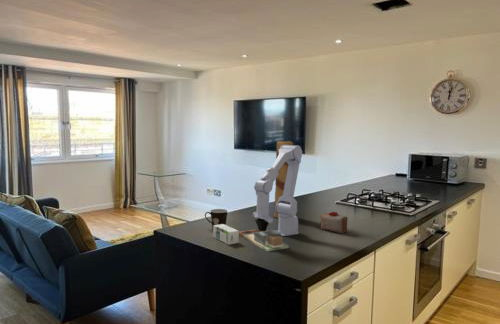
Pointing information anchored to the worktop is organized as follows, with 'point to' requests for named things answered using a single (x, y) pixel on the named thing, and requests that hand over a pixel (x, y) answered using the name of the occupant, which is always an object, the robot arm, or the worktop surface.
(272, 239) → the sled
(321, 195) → the worktop surface
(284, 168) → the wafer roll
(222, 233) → the syrup box
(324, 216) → the food item
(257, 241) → the rail tunnel
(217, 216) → the coffee mug
